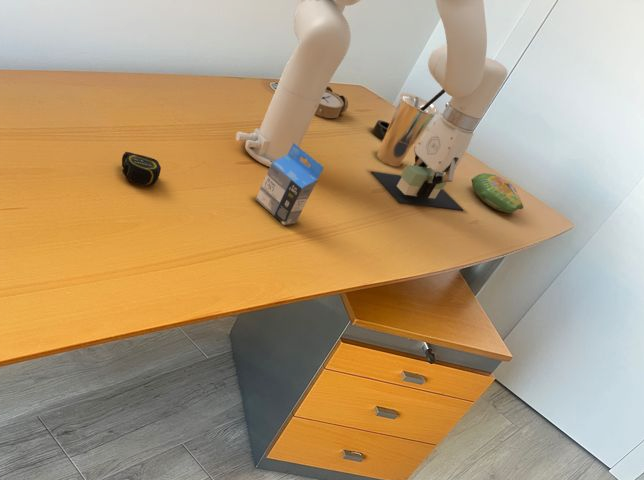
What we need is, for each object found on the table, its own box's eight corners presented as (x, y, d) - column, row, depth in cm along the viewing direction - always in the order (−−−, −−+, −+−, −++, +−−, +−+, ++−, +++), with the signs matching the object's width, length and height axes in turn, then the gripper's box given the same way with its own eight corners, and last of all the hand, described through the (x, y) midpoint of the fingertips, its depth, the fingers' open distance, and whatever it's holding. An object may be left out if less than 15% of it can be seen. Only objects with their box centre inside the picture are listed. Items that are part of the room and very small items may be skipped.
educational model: (477, 210, 170) (490, 191, 167) (460, 180, 182) (472, 161, 179) (522, 225, 172) (536, 207, 169) (502, 194, 184) (515, 176, 181)
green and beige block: (403, 195, 158) (416, 173, 155) (394, 185, 161) (407, 164, 157) (436, 199, 163) (449, 178, 159) (427, 189, 165) (439, 169, 162)
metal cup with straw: (412, 178, 172) (482, 59, 153) (370, 161, 172) (435, 40, 153) (409, 161, 181) (476, 46, 162) (369, 145, 180) (431, 28, 161)
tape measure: (155, 174, 131) (160, 156, 129) (156, 193, 126) (163, 174, 124) (119, 165, 129) (125, 147, 127) (120, 184, 124) (125, 165, 122)
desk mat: (399, 202, 158) (399, 201, 158) (370, 172, 167) (371, 171, 166) (462, 210, 167) (463, 209, 167) (432, 181, 175) (433, 180, 175)
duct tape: (362, 131, 186) (368, 121, 185) (376, 125, 194) (381, 116, 192) (387, 145, 184) (392, 135, 182) (400, 139, 191) (405, 130, 190)
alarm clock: (295, 89, 185) (328, 77, 193) (289, 106, 189) (322, 94, 197) (327, 110, 181) (360, 97, 189) (321, 127, 184) (353, 113, 193)
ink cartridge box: (253, 199, 136) (279, 142, 129) (267, 198, 139) (293, 141, 131) (283, 226, 132) (311, 168, 124) (296, 224, 134) (325, 167, 127)
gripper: (426, 97, 154) (385, 170, 165) (470, 135, 143) (423, 210, 155) (451, 102, 157) (409, 173, 169) (496, 139, 146) (448, 213, 158)
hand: (416, 190), depth 161 cm, fingers closed on green and beige block, 4 cm apart
